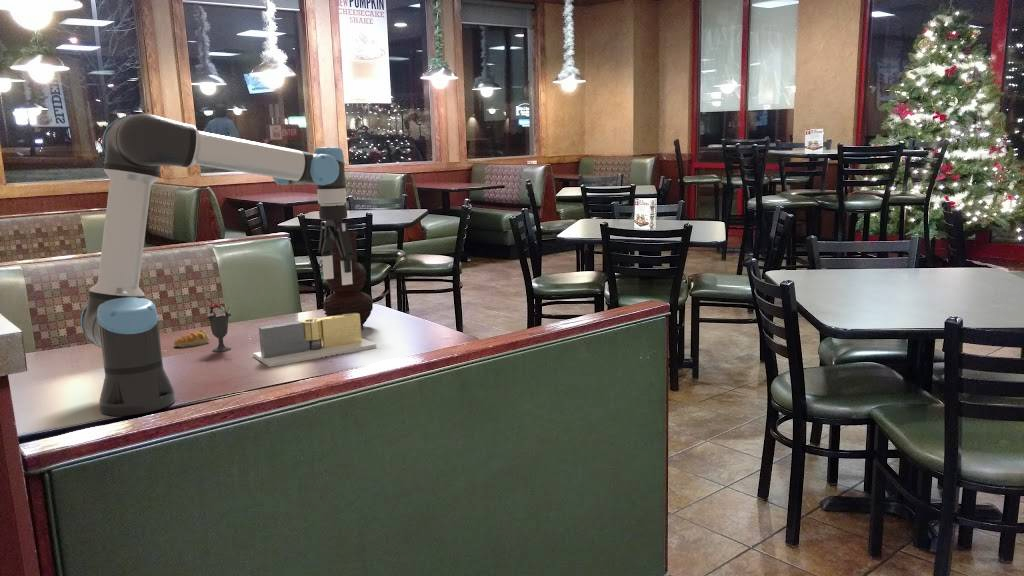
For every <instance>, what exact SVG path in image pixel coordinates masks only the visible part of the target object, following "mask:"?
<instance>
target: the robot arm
mask: <svg viewBox="0 0 1024 576" xmlns="http://www.w3.org/2000/svg"><path fill="white" fill-rule="evenodd" d="M101 140H102V141H101V143H102V149H103V152H104V154H105V156H104V162H103V163H104V165H103V171H104V173H105V174H106V175H107V177H108V178H109V184H108V194H107V203H106V208H105V209H106V211H105V219H104V225H103V226H104V227H103V236H102V241H101V242H102V243H101V250H100V251H101V253H100V260H99V267H98V269H99V270H98V276H97V282H96V283H95V284H94V285H93V286H92V287H90V288H89V289H88V296H87V297H88V298H87V304H86V305H85V307H84V309H83V310H82V313H81V316H80V327H81V329H82V332H83V334H84V336H85V337H86V339H87V340H88V341H90V343H91V344H92V345H94V346H95V347H97V348H101V353H102V361H103V367H104V379H103V383H102V388H101V393H100V398H99V403H98V404H99V410H100V413H102V414H104V415H106V416H111V417H115V416H117V417H119V416H121V417H123V416H124V417H126V416H133V415H135V416H137V415H141V414H147V413H151V412H155V411H158V410H162V409H164V408H167V407H169V406H171V405H172V404H173V403H175V402H176V394H175V389H174V387H173V385H172V383H171V381H170V378H169V376H168V375H167V372H166V371H165V369H164V365H163V364H164V363H163V355H162V346H161V338H160V337H161V336H160V335H161V334H160V327H159V314H158V311H157V307H156V305H155V303H154V302H153V301H151V300H150V299H148V298H145V295H146V294H145V293H144V292H143V290H142V289H141V287H140V286H139V285H140V279H141V278H140V277H141V269H142V264H143V263H142V261H143V255H144V246H145V245H144V244H145V239H146V231H147V230H146V229H147V221H148V214H149V205H150V198H151V197H150V196H151V188H152V185H153V184H154V183H155V182H157V181H159V180H160V175H161V174H160V172H161V167H162V166H163V167H165V166H166V167H168V166H170V167H180V168H181V167H182V168H186V169H187V168H190V167H192V166H193V165H197V166H203V167H209V168H214V169H215V168H216V169H222V170H225V171H226V170H227V171H233V172H239V173H240V172H241V173H246V174H249V175H250V174H251V175H258V176H264V177H269V178H272V179H273V181H274V183H276V184H277V185H279V186H281V185H282V186H284V185H285V186H290V185H293V186H294V185H310V186H311V185H316V188H317V189H316V193H317V203H318V204H319V207H318V216H319V217H318V218H319V219H320V220H322V221H320V231H319V232H320V233H319V234H320V235H319V243H318V253H319V254H320V255H321V256H322V258H321V259H322V261H321V262H322V273H323V280H326V279H333V278H334V274H333V259H332V255H333V253H332V247H333V243H334V241H335V242H336V244H337V247H338V250H339V253H340V255H341V258H340V261H341V276H342V285H348V284H353V282H352V266H351V260H352V258H355V255H354V251H353V247H352V243H351V239H350V235H349V232H350V231H349V225H348V223H347V222H343V220H345V219H347V218H348V206H347V205H346V203H347V195H348V191H347V190H346V189H347V188H346V173H345V164H346V163H345V157H344V153H343V152H344V151H343V149H342V148H341V147H339V146H331V147H330V146H328V147H326V146H324V147H323V146H322V147H316V148H315V149H314V153H313V152H308V151H301V150H299V149H298V150H297V149H294V148H290V147H289V148H288V147H283V146H277V145H273V144H268V143H262V142H257V141H251V140H247V139H243V138H237V137H233V136H227V135H226V136H225V135H221V134H217V133H211V132H206V131H201V130H198V128H197V127H196V126H195V125H194V124H189V123H185V122H180V121H178V120H177V121H176V120H173V119H169V118H167V117H162V116H160V115H155V114H150V113H138V114H134V115H124V116H121V117H118V118H116V119H115V120H113V121H112V122H111V123H110V124H109V125H108V126H107V127H106V129H105V130H104V132H103V136H102V139H101Z"/></svg>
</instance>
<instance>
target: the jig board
mask: <svg viewBox="0 0 1024 576" xmlns="http://www.w3.org/2000/svg"><path fill="white" fill-rule="evenodd" d="M361 338H362V337H361ZM371 348H372V349H376V348H377V344H376V343H375V342H372V341H369V340H367V339H364V338H362V342H358V343H352V344H346V345H340V346H335V347H329V348H323V347H322V349H319V350H308V351H305V352H300V353H294V354H288V355H283V356H277V357H271V358H263V357H261V351H257V352H253V353H252V355H253V358H255V359H256V360H258V361H260V362H261V363H262V364H264V365H266V366H267V367H268V368H269V367H270V368H271V367H276V366H281V365H282V366H283V365H287V364H292V363H293V364H294V363H297V362H305V361H311V360H315V359H321V357H322V358H326V357H325V356H327V357H331V356H330V355H333V356H337V355H336V354H338V355H342V353H344V354H348V352H349V353H354V352H361V351H365V350H371Z"/></svg>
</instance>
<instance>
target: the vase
mask: <svg viewBox="0 0 1024 576" xmlns="http://www.w3.org/2000/svg"><path fill="white" fill-rule="evenodd" d="M358 233H359V232H357V231H355V230H354V231H349V235H350V239H351V243H352V247H353V251H354V255H355V258H352V260H351V266H352V282H353V284H348V285H342V276H341V261H340V258H341V255H340V253H339V250H338V247H337V244H336V242H335V241H334V243H333V247H332V253H333V255H331V256H332V259H333V274H334V278H333V279H325V281H326V283H325V284H326V285H327V286H328V289H329V290H330V292H333V293H332V294H328V296H327V297H326V298H324V301H323V302H322V304H323V305H322V307H323V309H322V311H324V313H323V314H324V315H325V317H330V316H336V315H343V314H350V313H358V314H360V324H361V329H362V328H364V325H365V323H366V322H367V320H368V318H369V317H370V316H371V313H372V311H373V308H374V306H373V304H374V301H373V299H372V297H371V295H370V294H369V293H366V292H364V291H362V290H363V289H364V287H365V285H366V280H367V270H366V269H365V267H364V265H363V264H362V263H360V262H358V250H357V249H358V246H357V240H358V239H357V237H358Z"/></svg>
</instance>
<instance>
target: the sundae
mask: <svg viewBox="0 0 1024 576" xmlns="http://www.w3.org/2000/svg"><path fill="white" fill-rule="evenodd" d="M207 300H208V302H210V306H209V311H207V315H205V319H207V320H208V322H209V326H210V330H211V333H212V335H213V336H214V337H215V338H217V339H218V346H217V347H216V348H213V349H212V352H213V353H224V352H228V351H230V350H232V348H231V347H228V346H226V345H225V344H224V338H225V336H226V335H228V331H229V317H230V316H232V314H231V313H229V309H230V307H229V306H228V307H227V309H225V307H223V306H222V305H218V304H217V303H215V302H214V301H213V300H212V299H211V298H208V299H207Z"/></svg>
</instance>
